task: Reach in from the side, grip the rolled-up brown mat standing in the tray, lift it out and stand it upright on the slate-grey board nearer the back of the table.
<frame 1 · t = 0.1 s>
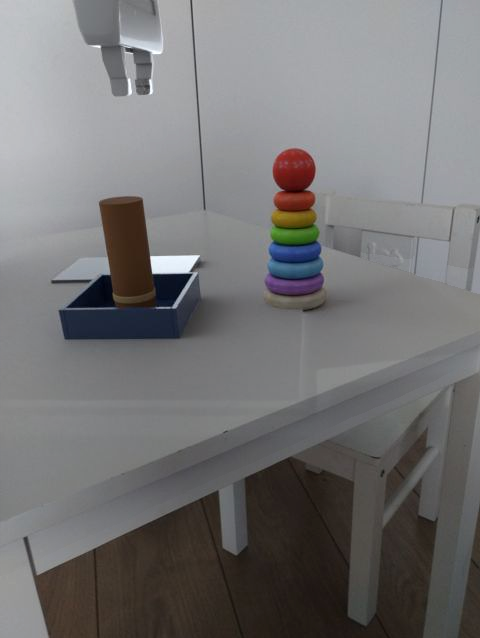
hand: (134, 95, 66), 25 cm above the table, tool pointing down, fingers open, 8 cm apart
stacking toy: (295, 303, 73), on the table
board: (130, 273, 88), on the table
rolled mat: (137, 316, 69), point 1 cm above the table, touching tray
tray: (138, 321, 70), on the table
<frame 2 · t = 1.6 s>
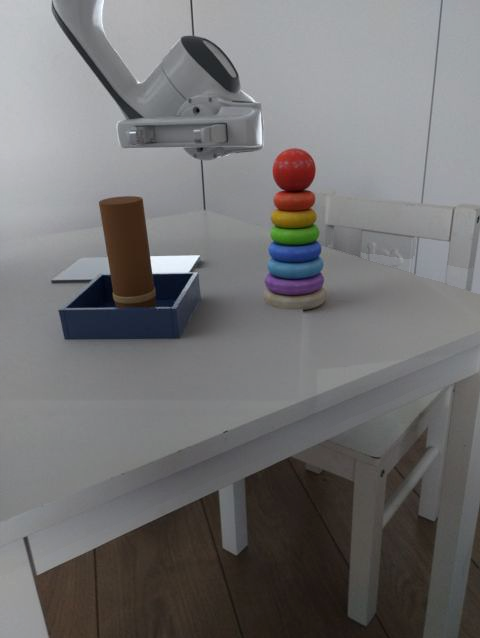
hand: (164, 137, 72), 20 cm above the table, tool horizontal, fingers open, 8 cm apart
nothing on the table moved.
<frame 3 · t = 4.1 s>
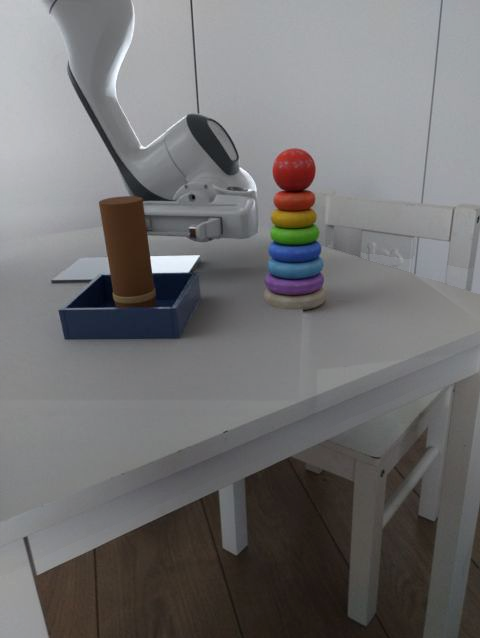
hand: (160, 232, 73), 9 cm above the table, tool horizontal, fingers open, 8 cm apart
nothing on the table moved.
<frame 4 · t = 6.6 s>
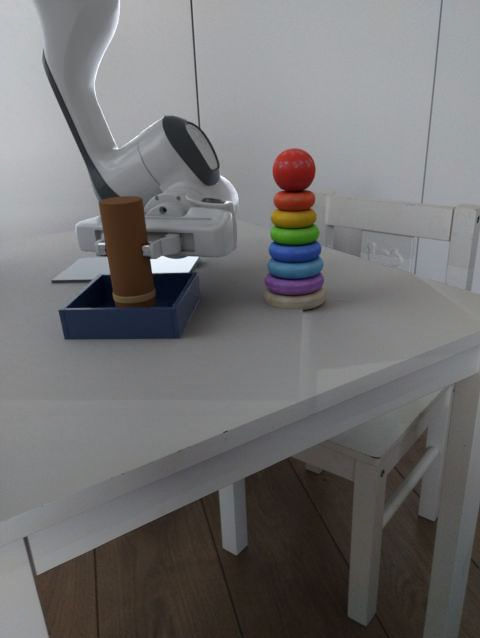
hand: (124, 251, 65), 9 cm above the table, tool horizontal, fingers closed on rolled mat, 5 cm apart
rolled mat: (137, 316, 69), point 1 cm above the table, touching gripper, tray
everything else where it was.
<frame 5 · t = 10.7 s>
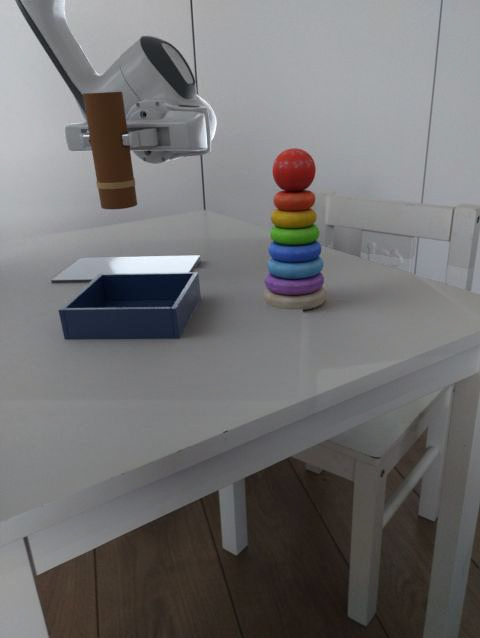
hand: (106, 140, 73), 20 cm above the table, tool horizontal, fingers closed on rolled mat, 5 cm apart
rolled mat: (119, 205, 77), point 12 cm above the table, touching gripper
everything else where it was.
when the fingers open (9 cm above the table, at t = 15.0 s): rolled mat stays where it is, resting on board.
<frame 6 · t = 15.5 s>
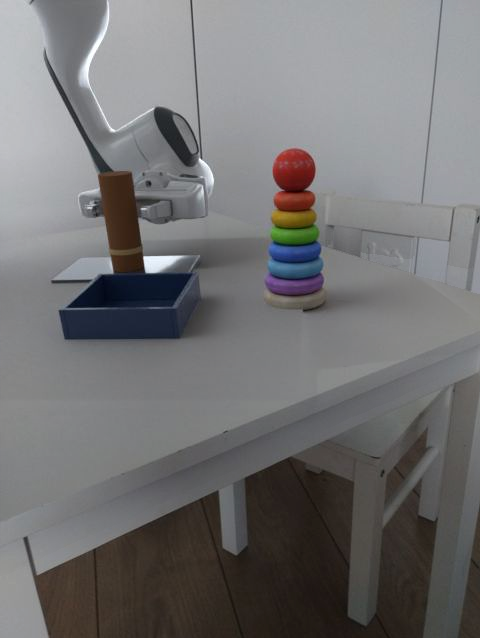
hand: (116, 213, 83), 10 cm above the table, tool horizontal, fingers open, 8 cm apart
rolled mat: (128, 267, 88), point 1 cm above the table, touching board
everything else where it was.
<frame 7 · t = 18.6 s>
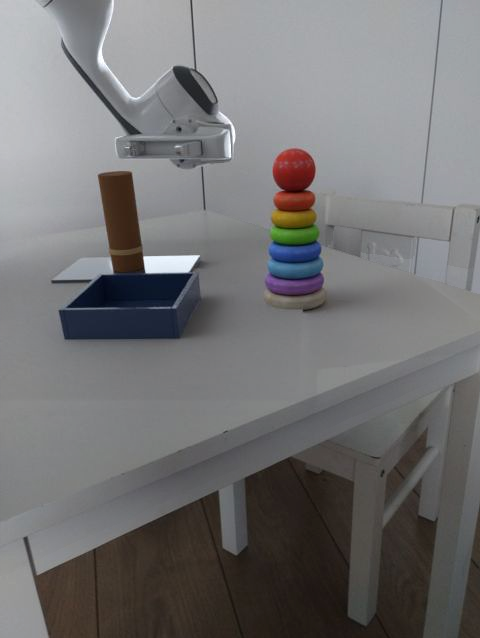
hand: (152, 151, 91), 17 cm above the table, tool horizontal, fingers open, 8 cm apart
nothing on the table moved.
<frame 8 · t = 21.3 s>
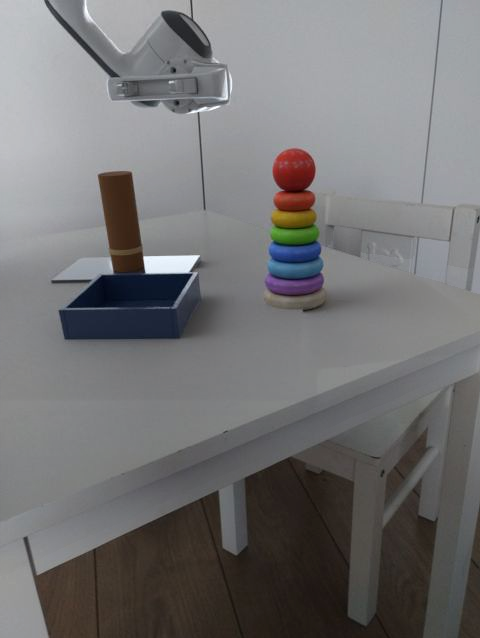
hand: (145, 87, 87), 26 cm above the table, tool horizontal, fingers open, 8 cm apart
nothing on the table moved.
at the end: rolled mat inside the target area on the board (0.4 cm from its centre), point 1.0 cm above the board's base; rolled mat tilted 0°; rolled mat touching board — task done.
